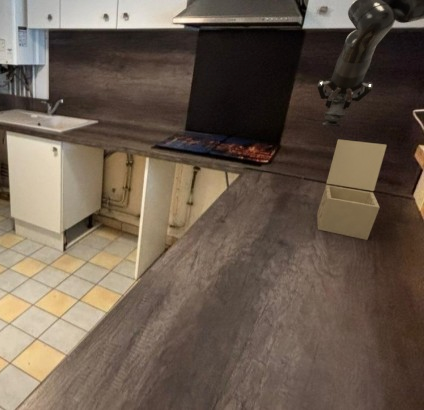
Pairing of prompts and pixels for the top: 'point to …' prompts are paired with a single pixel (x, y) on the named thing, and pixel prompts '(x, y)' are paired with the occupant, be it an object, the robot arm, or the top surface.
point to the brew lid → (356, 164)
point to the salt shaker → (335, 111)
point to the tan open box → (347, 211)
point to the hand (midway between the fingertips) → (336, 106)
